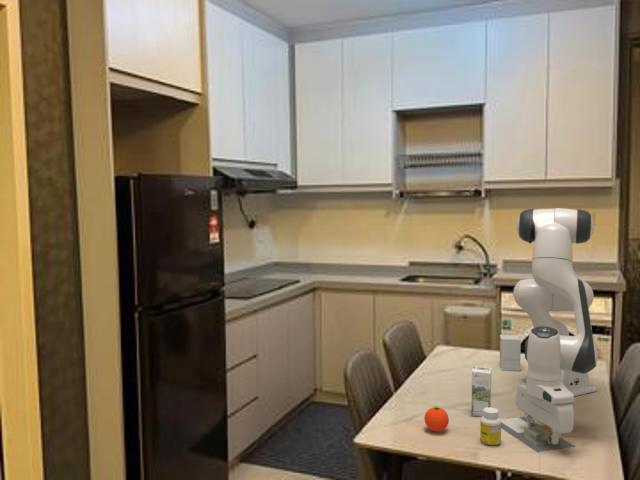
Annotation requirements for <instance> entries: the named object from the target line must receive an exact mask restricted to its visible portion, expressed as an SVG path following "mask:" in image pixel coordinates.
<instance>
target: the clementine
mask: <svg viewBox="0 0 640 480" xmlns="http://www.w3.org/2000/svg"><path fill="white" fill-rule="evenodd" d="M449 421H450V420H449V415H448V412H447V411H446V410H445V409H443V408H442V407H440V406H438V405H433V406H432V407H430V408H429V409H427V410H426V412H425V414H424V423H425V425H426V426H427V429H429V430H430V431H432V432H435V433H436V432H437V433H438V432H439V433H440V432H442V431H444V430H445V429H446V428H447V427H448V425H449V423H450V422H449Z"/></svg>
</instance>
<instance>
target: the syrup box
mask: <svg viewBox="0 0 640 480" xmlns="http://www.w3.org/2000/svg"><path fill="white" fill-rule="evenodd" d="M471 369H472V370H471V411H470V412H471V417H478V418H481V417H482V416H484V415H483V409H484V408H487V407H490V408H492V371H493V370H492V367H484V366H472V368H471Z"/></svg>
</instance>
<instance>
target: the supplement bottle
mask: <svg viewBox="0 0 640 480" xmlns="http://www.w3.org/2000/svg"><path fill="white" fill-rule="evenodd" d="M483 415H484V416H482V417H480V432H479V433H480V436H479V437H480V444H482V445H483V446H486V447H491V448H497V447H500V446H501V445H502V428H501V420H502V419H501V418H500V417H499V409H498V408H495V407H491V408H490V407H487V408H484V409H483Z"/></svg>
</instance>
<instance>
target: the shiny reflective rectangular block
mask: <svg viewBox="0 0 640 480" xmlns="http://www.w3.org/2000/svg"><path fill="white" fill-rule="evenodd" d="M552 434H553V432H552V428H551V427H549V426H547V425H545V424H542V425H540V426H534V427H526V428H524V439H526V440H528V441H529V442H531V443H532V444H534V445H535V446H537V445H544V444H551V442H549V440H550V439H549V436H552ZM561 438H562V434H561V435H560V436H559V438H558V442H561Z"/></svg>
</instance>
